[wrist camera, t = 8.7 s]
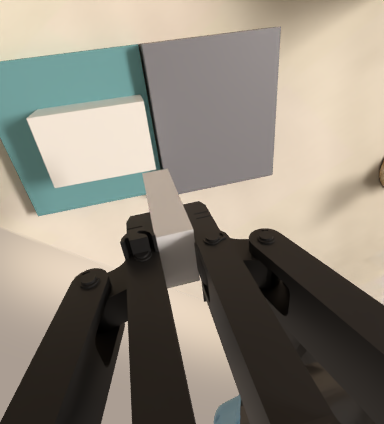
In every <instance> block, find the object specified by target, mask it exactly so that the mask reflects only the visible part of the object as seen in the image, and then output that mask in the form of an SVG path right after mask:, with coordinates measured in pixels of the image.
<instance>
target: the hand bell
mask: <svg viewBox="0 0 384 424" xmlns="http://www.w3.org/2000/svg"><path fill="white" fill-rule="evenodd" d="M379 177H380V181H381V184H382V185H383V186H384V161H383V163H382V165H381V168H380V174H379Z"/></svg>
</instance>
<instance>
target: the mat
mask: <svg viewBox="0 0 384 424" xmlns="http://www.w3.org/2000/svg"><path fill="white" fill-rule="evenodd" d="M133 95H141V97H142V99H143V101H144V105H145V111H146V117H147V122H148V128H149V133H150V139H151V144H152V150H153V155H154V161H155V166H156V170H150V171H145V172H140V173H134V174H129V175H123V176H118V177H113V178H107V179H102V180H96V181H91V182H86V183H80V184H75V185H69V186H64V187H59V188H55V187H54V185H53V183H52V180H51V178H50V175H49V173H48V170H47V168H46V165H45V163H44V161H43V158H42V156H41V153H40V151H39V148H38V146H37V143H36V141H35V139H34V136H33V134H32V131H31V129H30V126H29V124H28V121H27V119H26V118H27V117H29V116H30V115H31V114H32V113H33V112H35V111H36V110H37V109H43V108H50V107H57V106H64V105H71V104H78V103H85V102H92V101H99V100H105V99H112V98H119V97H126V96H133ZM0 138H1V140H2V142H3V144H4V146H5V148H6V151H7V153H8V155H9V157H10V159H11V161H12V163H13V165H14V167H15V169H16V171H17V173H18V175H19V177H20V179H21V182H22V184H23V186H24V188H25V190H26V192H27V194H28V196H29V198H30V200H31V202H32V204H33V206H34V208H35V211H36V213H37V215H38V216H42V215H47V214H52V213H57V212H62V211H67V210H71V209H76V208H81V207H86V206H91V205H96V204H101V203H106V202H111V201H116V200H121V199H125V198H130V197H135V196H140V195H145V194H146V190H145V185H144V180H143V175H142V173H147V172H152V171H158V170H161V169H160V164H159V158H158V153H157V147H156V141H155V136H154V130H153V125H152V119H151V113H150V108H149V102H148V97H147V91H146V86H145V80H144V74H143V69H142V63H141V58H140V52H139V46H138V44H136V45H128V46H120V47H112V48H104V49H96V50H88V51H80V52H72V53H64V54H56V55H48V56H40V57H32V58H24V59H16V60H9V61H1V62H0Z"/></svg>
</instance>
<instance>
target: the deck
mask: <svg viewBox="0 0 384 424" xmlns="http://www.w3.org/2000/svg"><path fill="white" fill-rule="evenodd" d="M280 31H281V27H272V28H263V29H255V30H247V31H239V32H231V33H223V34H215V35H207V36H199V37H191V38H183V39H175V40H167V41H159V42H152V43H144V44H139V46H140V51H141V57H142V63H143V68H144V74H145V80H146V85H147V91H148V97H149V102H150V108H151V114H152V119H153V125H154V131H155V136H156V142H157V147H158V153H159V159H160V164H161V170H163V169H168V171H169V173H170V176H171V178H172V180H173V183H174V185H175V187H176V190H177V192H178V194H182V193H187V192H192V191H197V190H202V189H207V188H211V187H216V186H221V185H226V184H231V183H236V182H240V181H245V180H250V179H255V178H260V177H265V176H269V175H272V172H273V155H274V137H275V119H276V102H277V84H278V66H279V49H280Z"/></svg>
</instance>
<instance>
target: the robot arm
mask: <svg viewBox="0 0 384 424" xmlns="http://www.w3.org/2000/svg"><path fill="white" fill-rule="evenodd" d="M142 175H143V180H144V185H145V190H146V195H147V200H148V205H149V210H150V212H149V213H144V214H140V215H135V216H130V218H129V219H128V221H127V223H126V225H127V234H125V235H124V236H123V238H122V239H121V242H120V244H121V247H122V250H123V253H124V257H125V262H124V263H123V264H122V265H121V266H120V267H118V268H116V269H114V270H112V271H111V272H108V273H107V272H106V271H105V270H103V269H98V268H94V269H90V270H86V271H84V272H82V273H80V274H79V275H78V276H77V277H75V279H74V280H73V281H72V283H71V285H70V287H69V289H68V291H67V292H66V295H65V296H64V298H63V300H62V302H61V304H60V306H59V308H58V310H57V312H56V314H55V316H54V318H53V320H52V322H51V324H50V326H49V328H48V330H47V332H46V334H45V336H44V338H43V340H42V342H41V343H40V346H39V347H38V349H37V351H36V353H35V355H34V357H33V359H32V361H31V363H30V365H29V367H28V369H27V371H26V373H25V375H24V377H23V379H22V381H21V383H20V385H19V387H18V388H17V390H16V392H15V395H14V396H13V398H12V400H11V402H10V404H9V406H8V408H7V410H6V412H5V414H4V416H3V418H2V420H1V422H0V424H101V421H102V416H103V412H104V409H105V404H106V401H107V396H108V392H109V388H110V384H111V380H112V376H113V372H114V368H115V364H116V360H117V356H118V352H119V347H120V343H121V340H122V335H123V331H124V327H125V322H126V321H128V333H129V358H130V382H131V406H132V424H196V423H195V417H194V413H193V408H192V403H191V399H190V394H189V389H188V384H187V380H186V375H185V370H184V366H183V361H182V356H181V352H180V347H179V342H178V337H177V333H176V328H175V323H174V319H173V314H172V309H171V304H170V300H169V295H168V290H167V288H171V287H175V286H179V285H183V284H187V283H191V282H195V281H199V280H200V277H201V280H202V288H203V296H204V302H205V301H207V303H208V306H209V309H210V312H211V314H212V317H213V320H214V323H215V326H216V329H217V332H218V334H219V337H220V340H221V343H222V346H223V349H224V351H225V354H226V357H227V360H228V363H229V365H230V368H231V371H232V374H233V377H234V380H235V383H236V385H237V388H238V391H239V395H238V396H237V397H235V398H233V399H231V400H229V401H227V402H225V403H223V404H222V405H220V406H219V407H218V409H217V411H216V413H215V417H214V424H384V305H383V304H381V303H380V302H378V301H377V300H375V299H374V298H372V297H371V296H370V295H368V294H367V293H365V292H364V291H362V290H361V289H360V288H358V287H357V286H355V285H354V284H352V283H351V282H350V281H348V280H347V279H345V278H344V277H342V276H341V275H340V274H338V273H337V272H335V271H334V270H332V269H331V268H330V267H328V266H327V265H325V264H324V263H322V262H321V261H319V260H318V259H317V258H315V257H314V256H312V255H311V254H309V253H308V252H307V251H305V250H304V249H302V248H301V247H299V246H298V245H297V244H295V243H294V242H292V241H291V240H289V239H288V238H287V237H285V236H284V235H282V234H281V233H279V232H277V231H275V230H272V229H258V230H255V231H253V232H252V233H251V234H250V236H249V239H232V238H229V236H228V235H227V234H226V233H225V232H223V231H220V230H219V228H218V226H217V225H216V223H215V221H214V219H213V218H212V216H211V214H210V212H209V210H208V209H207V207H206V205H204V204H203V203H201V202H199V201H198V202H193V203H188V204H184V205H183V204H182V202H181V199H180V197H179V194H178V192H177V190H176V187H175V185H174V183H173V180H172V178H171V176H170V173H169V171H168V169H163V170H158V171H152V172H147V173H142ZM199 275H200V277H199Z"/></svg>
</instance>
